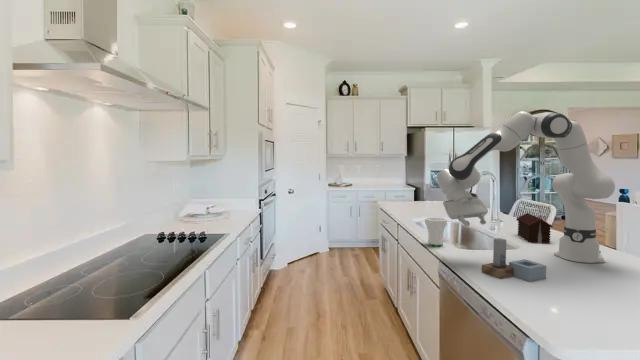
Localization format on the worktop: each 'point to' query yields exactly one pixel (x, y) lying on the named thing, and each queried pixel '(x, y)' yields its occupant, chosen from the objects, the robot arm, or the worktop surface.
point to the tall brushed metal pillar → (499, 253)
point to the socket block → (498, 271)
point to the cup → (435, 230)
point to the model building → (533, 229)
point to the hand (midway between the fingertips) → (476, 224)
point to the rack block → (528, 270)
